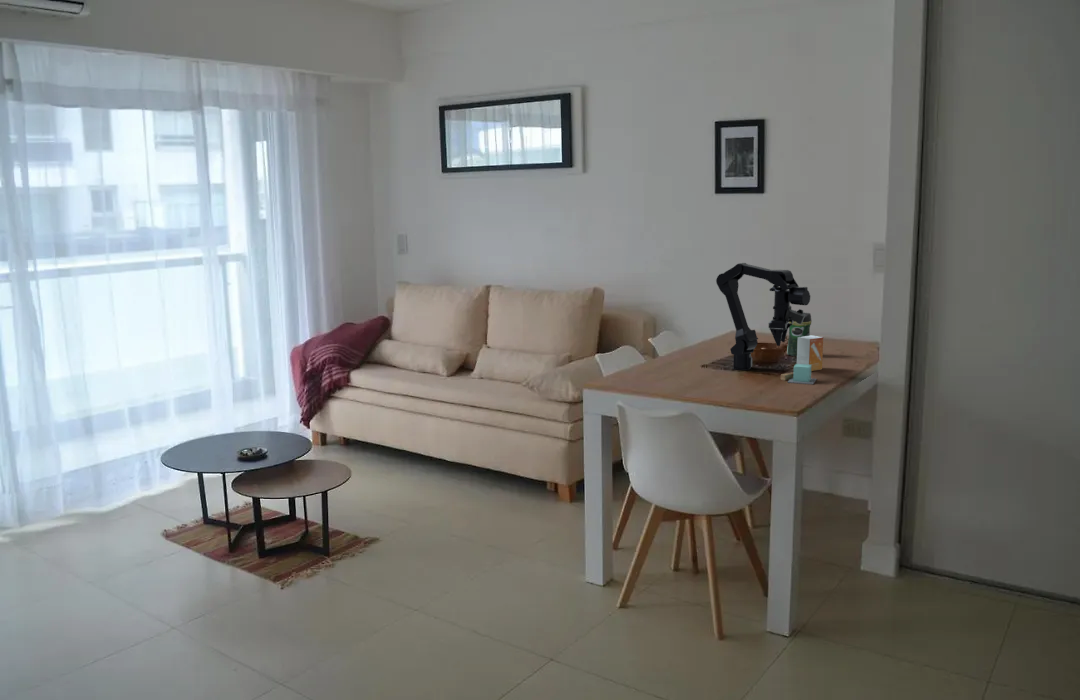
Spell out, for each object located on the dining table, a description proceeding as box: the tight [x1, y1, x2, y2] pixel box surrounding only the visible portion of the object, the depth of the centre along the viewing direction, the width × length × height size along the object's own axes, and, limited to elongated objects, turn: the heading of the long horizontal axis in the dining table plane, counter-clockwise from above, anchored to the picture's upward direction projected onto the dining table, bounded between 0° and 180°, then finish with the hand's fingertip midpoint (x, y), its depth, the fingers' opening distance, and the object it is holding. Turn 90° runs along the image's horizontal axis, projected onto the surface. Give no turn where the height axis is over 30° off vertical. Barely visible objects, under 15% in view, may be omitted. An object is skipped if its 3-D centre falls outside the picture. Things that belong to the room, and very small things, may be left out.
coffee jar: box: [786, 312, 812, 357], centre depth 383 cm, size 10×8×19 cm
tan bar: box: [780, 371, 794, 382], centre depth 337 cm, size 8×2×2 cm, turn 125°
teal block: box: [793, 363, 812, 382], centre depth 332 cm, size 6×6×6 cm
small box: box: [796, 334, 824, 372], centre depth 353 cm, size 8×6×13 cm
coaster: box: [787, 377, 817, 385], centre depth 332 cm, size 9×9×1 cm
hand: (780, 343), depth 344 cm, fingers open, 9 cm apart
